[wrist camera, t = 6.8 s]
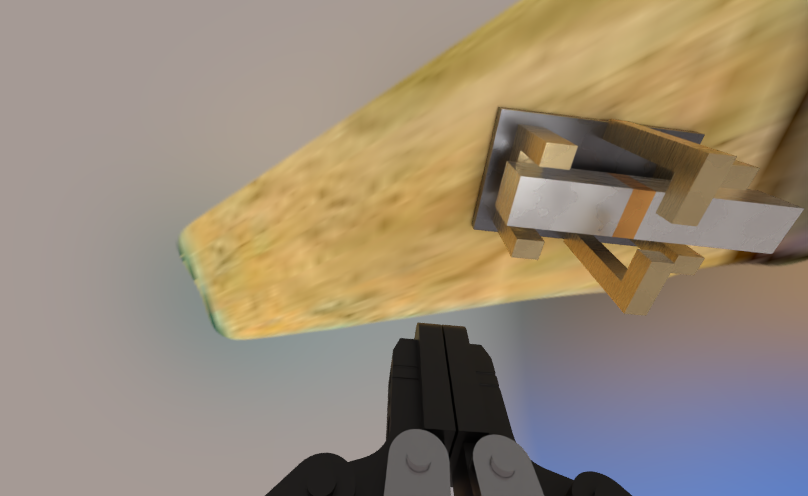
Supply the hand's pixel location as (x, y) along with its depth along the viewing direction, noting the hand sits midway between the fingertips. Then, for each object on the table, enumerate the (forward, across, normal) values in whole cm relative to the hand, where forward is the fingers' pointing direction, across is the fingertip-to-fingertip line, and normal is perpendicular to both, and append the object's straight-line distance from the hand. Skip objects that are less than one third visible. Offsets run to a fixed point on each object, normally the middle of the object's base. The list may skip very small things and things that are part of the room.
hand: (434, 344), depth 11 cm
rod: (+18, -16, 0) cm, 24 cm away
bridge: (+21, -15, 0) cm, 26 cm away
